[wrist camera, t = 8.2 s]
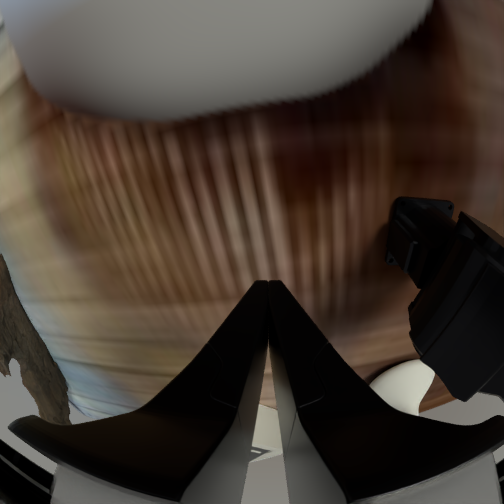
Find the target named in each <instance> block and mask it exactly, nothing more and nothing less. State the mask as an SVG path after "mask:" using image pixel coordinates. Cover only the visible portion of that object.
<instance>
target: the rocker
mask: <svg viewBox="0 0 504 504" xmlns="http://www.w3.org/2000/svg"><path fill="white" fill-rule="evenodd" d="M268 451H270V450H266V449H261V448H257V447H253V446H252V447H251V452H250V458H249V461H248V462H250V461H252V460H254V459H256V458H257V457H259V456H261V455H263V454H265V453H266V452H268Z"/></svg>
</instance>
